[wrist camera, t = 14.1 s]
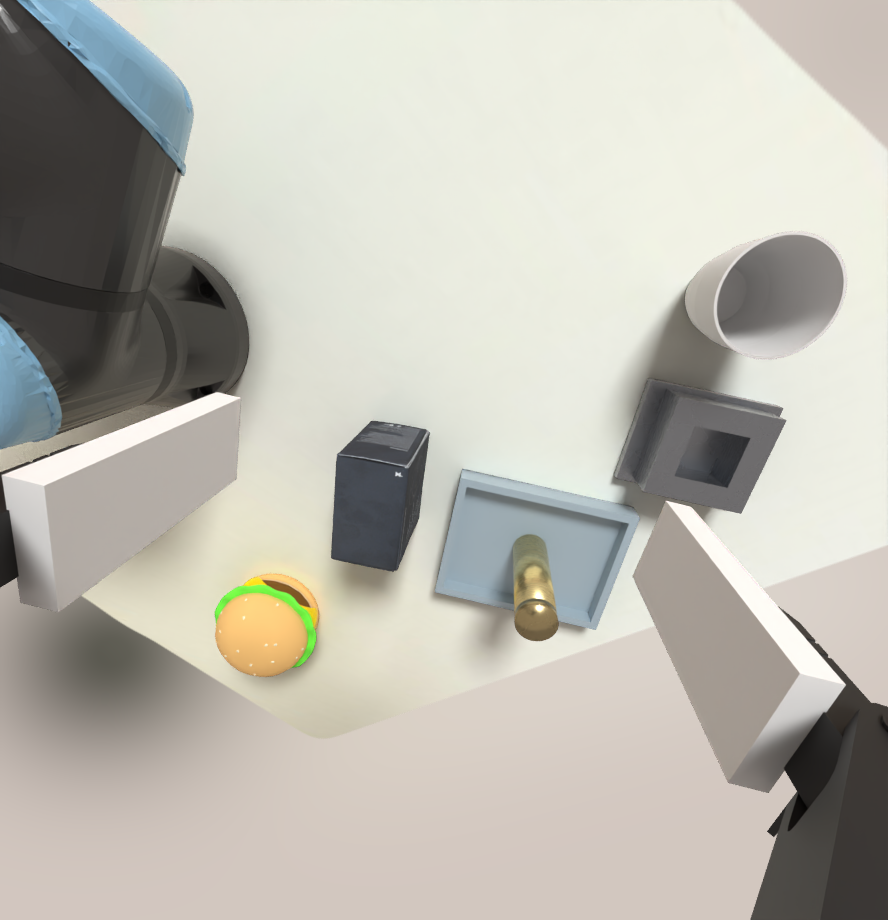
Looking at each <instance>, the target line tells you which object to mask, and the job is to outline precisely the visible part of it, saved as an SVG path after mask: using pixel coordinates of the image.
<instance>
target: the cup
mask: <svg viewBox="0 0 888 920" xmlns="http://www.w3.org/2000/svg"><path fill="white" fill-rule="evenodd" d="M846 288H847V273H846V268H845V264H844V262H843V259H842V257H841V255H840V254H839V252H838V251H837V249H836V248H835V247H834V246H833V245H832V244H831V243H830V242H828V241H827V240H825V239H824V238H822V237H820V236H818V235H815V234H812V233H808V232H802V231H788V232H782V233H777V234H774V235H771V236H767V237H764V238H761V239H757V240H754V241H751V242H747V243H744V244H741V245H738V246H736V247H734V248H732V249H730V250H728V251H727V252H725V253H723V254H721V255H719V256H718V257H716V258H714V259H712V260H711V261H709V262H708V263H707V264H705V265H704V266H703V267H702V268H701V269H700V270H699V271H698V272H697V274H696V275H695V276H694V278H693V279H692V280H691V282H690V284H689V285H688V288H687V290H686V294H685V306H686V310H687V313H688V316H689V318H690V320H691V322H692V323H693V325H694V326H695V327H696V328H697V329H698V330H700V331H701V332H702V333H703V334H704V335H706V336H707V337H708V338H709V339H710V340H712V341H713V342H715V343H717V344H719V345H721V346H723V347H726V348H728V349H730V350H732V351H735V352H737V353H739V354H741V355H744V356H747V357H750V358H754V359H777V358H782V357H785V356H789V355H791V354H794V353H796V352H798V351H800V350H802V349H804V348H806V347H807V346H809V345H810V344H812V343H813V342H815V341H816V340H817V339H818V338H819V337H820V336H821V335H823V334H824V333H825V331H826V330H827V329H828V328H829V327H830V326H831V324H832V323H833V321H834V320H835V318H836V317H837V315H838V313H839V311H840V309H841V307H842V304H843V301H844V298H845V294H846Z"/></svg>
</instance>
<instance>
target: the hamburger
mask: <svg viewBox="0 0 888 920" xmlns="http://www.w3.org/2000/svg"><path fill="white" fill-rule="evenodd" d="M215 618H216V633H215V637H216V641H215V642H216V643H217V647H218V649H219V651H220V653H221V654H222V655H223V657H224V658H225V659H226V661H227V662H228V663H229V664H230V665H231V666H233V668H235V669H237V670H239V671H241V672H243V673H245V674H249V675H253V676H259V677H269V676H275V675H278V674H280V673H282V672H284V671H286V670H288V669H290V668H293V667H298V666H301V665H302V664H303V663H304V662H305V661H306V660H307V659H308V657H309V656H310V655H311V654H312V652H313V649H314V646H315V643H316V632H315V629H316V627H317V625H318V620H319V611H318V606H317V603H316V601H315V598H314V597H313V595H312V593H311V592H310V591H309V590H308V589H307V588H306V587H305V586H304V585H303V584H302V583H300V582H299V581H297V580H295V579H293V578H291V577H288V576H285V575H281V574H265V575H260V576H258V577H253V578H252V579H250V580H248V581H247V582H246V583H245V584H244V585H243V586H240V587H237V588H235V589H233V590H232V591H230V592H229V593H228V594H226V595H225V596H224V597H223V598H222V599H221V601H220V602H219V604H218V606H217V608H216V610H215Z"/></svg>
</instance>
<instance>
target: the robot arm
mask: <svg viewBox="0 0 888 920" xmlns="http://www.w3.org/2000/svg"><path fill="white" fill-rule="evenodd" d="M193 116H194V113H193V105H192V101H191V99H190V96H189V94H188V92H187V90H186V88H185V86H184V85H183V83H182V82H181V81H180V79H179V78H178V77H177V76H176V74H175V73H174V72H173V71H172V70H171V69H170V68H169V67H168V66H167V65H166V64H165V63H164V62H162V61H161V60H160V59H159V58H158V57H157V56H156V55H155V54H154V53H152V52H151V51H150V50H149V49H148V48H147V47H145V46H144V45H143V44H142V43H141V42H140V41H138V40H137V39H136V38H135V37H134V36H133V35H131V34H130V33H129V32H128V31H127V30H125V29H124V28H123V27H122V26H121V25H119V24H118V23H117V22H116V21H114V20H113V19H112V18H111V17H110V16H108V15H107V14H106V13H105V12H103V11H102V10H101V9H100V8H98V7H97V6H96V5H95V4H93V3H92V2H91V1H90V0H0V449H3V448H7V447H11V446H15V445H18V444H22V443H26V442H37V441H40V440H46V439H49V438H51V437H53V436H55V435H57V434H60V433H63V432H66V431H69V430H71V429H74V428H77V427H80V426H83V425H85V424H88V423H91V422H94V421H97V420H99V419H102V418H105V417H108V416H111V415H113V414H116V413H119V412H122V411H125V410H127V409H130V408H133V407H136V406H138V405H142V404H146V405H156V406H167V407H177V408H174V409H172V410H169V411H166V412H164V413H161V414H159V415H156V416H154V417H151V418H148V419H146V420H143V421H141V422H138V423H135V424H133V425H130V426H128V427H125V428H122V429H120V430H117V431H115V432H112V433H110V434H107V435H104V436H102V437H99V438H97V439H94V440H91V441H89V442H86V443H82V444H76V445H71V446H68V447H66V448H63V449H61V450H58V451H55V452H53V453H50V456H48V455H45V456H42V457H39V458H37V459H34V460H33V462H26V463H24V464H21V465H18V466H16V467H13V468H11V469H8V470H5V471H3V472H0V587H2V586H3V585H5V584H7V583H8V582H10V581H12V580H13V579H15V578H17V581H18V588H19V595H20V602H21V603H24V604H28V605H31V606H36V607H40V608H44V609H47V610H51V611H56V612H60V611H61V610H62V609H64V608H65V607H66V606H68V605H69V604H70V603H71V602H73V601H74V600H75V599H77V598H78V597H80V596H81V595H82V594H84V593H85V592H86V591H88V590H89V589H90V588H92V587H93V586H94V585H96V584H97V583H98V582H100V581H101V580H102V579H104V578H105V577H106V576H108V575H109V574H110V573H112V572H113V571H114V570H116V569H117V568H118V567H120V566H121V565H122V564H124V563H125V562H126V561H128V560H129V559H130V558H132V557H133V556H134V555H136V554H137V553H138V552H140V551H141V550H142V549H144V548H145V547H146V546H148V545H149V544H150V543H152V542H153V541H154V540H156V539H157V538H158V537H160V536H161V535H162V534H164V533H165V532H166V531H168V530H169V529H170V528H172V527H173V526H174V525H176V524H177V523H178V522H180V521H181V520H182V519H184V518H185V517H186V516H188V515H189V514H190V513H192V512H193V511H194V510H196V509H197V508H198V507H200V506H201V505H202V504H204V503H205V502H206V501H208V500H209V499H210V498H212V497H213V496H214V495H216V494H217V493H218V492H220V491H221V490H222V489H224V488H225V487H226V486H228V485H229V484H230V483H232V482H233V481H234V480H236V478H237V461H238V443H239V425H240V407H241V398H239V397H235V396H231V395H227V394H224V393H225V392H227V391H228V390H229V389H230V388H231V387H232V386H233V385H234V384H235V383H236V381H237V380H238V379H239V377H240V375H241V373H242V372H243V369H244V367H245V364H246V360H247V356H248V349H249V334H248V326H247V322H246V318H245V314H244V311H243V309H242V306H241V304H240V302H239V300H238V298H237V296H236V294H235V292H234V291H233V289H232V288H231V286H230V285H229V284H228V282H227V281H226V280H225V279H224V277H223V276H222V275H221V274H220V273H219V272H218V271H217V270H216V269H215V268H214V267H212V266H211V265H210V264H209V263H207V262H206V261H204V260H203V259H201V258H200V257H198V256H196V255H194V254H192V253H190V252H187V251H185V250H182V249H178V248H174V247H167V246H161V244H162V240H163V237H164V233H165V230H166V226H167V223H168V219H169V216H170V212H171V209H172V205H173V202H174V198H175V195H176V191H177V188H178V184H179V181H180V177H181V175H182V176H184V175H185V172H186V166H185V164H184V159H185V155H186V150H187V145H188V141H189V136H190V132H191V128H192V123H193ZM633 578H634V580H635V583H636V585H637V587H638V589H639V591H640V593H641V596H642V598H643V600H644V602H645V604H646V606H647V609H648V611H649V613H650V615H651V617H652V619H653V622H654V624H655V626H656V628H657V630H658V632H659V635H660V637H661V639H662V641H663V643H664V645H665V647H666V650H667V652H668V654H669V656H670V658H671V660H672V663H673V665H674V667H675V669H676V671H677V673H678V675H679V677H680V680H681V682H682V684H683V686H684V688H685V691H686V693H687V695H688V697H689V699H690V701H691V704H692V706H693V708H694V710H695V712H696V714H697V717H698V719H699V721H700V723H701V725H702V728H703V730H704V732H705V734H706V736H707V738H708V740H709V742H710V745H711V747H712V749H713V751H714V754H715V756H716V758H717V760H718V762H719V764H720V766H721V769H722V771H723V773H724V775H725V777H726V779H727V781H728V783H731V784H735V785H739V786H743V787H747V788H751V789H755V790H759V791H763V792H766V793H769V791H770V790H771V789H772V787H773V786H774V784H775V783H776V782H777V780H778V779H779V778H780V776H781V775H782V773H783V772H784V771H786V773H787V775H788V776H789V778H790V780H791V781H792V783H793V785H794V786H795V788H796V790H797V792H796V794H795V795H794V796H793V798H792V799H791V800H790V802H789V803H788V804H787V806H786V807H785V808H784V810H783V811H782V813H781V814H780V815H779V816H778V818H777V819H776V820H775V822H774V823H773V824H772V826H771V827H770V828H769V830H768V831H767V832H768V833H770V834H771V835H772V836H773V837H774V836H775V835H776V834H777V833H778V835H777V838H776V841H775V844H774V847H773V850H772V853H771V857H770V860H769V863H768V866H767V869H766V872H765V876H764V879H763V882H762V885H761V888H760V891H759V894H758V897H757V901H756V904H755V907H754V910H753V913H752V917H751V920H888V707H887V706H883V705H880V704H877V703H871V702H870V701H869V700H868V699H867V698H866V697H865V696H864V694H863V693H862V692H861V691H860V690H859V689H858V688H857V687H856V686H855V684H854V683H853V682H852V681H851V680H850V679H849V678H848V677H847V675H846V674H845V673H844V672H843V671H842V670H841V669H840V668H839V666H838V665H837V664H836V663H835V662H834V661H833V660H832V659H831V658H828V654H827V653H826V652H825V651H824V650H823V649H822V647H821V646H820V645H819V644H816V643H815V639H814V638H813V637H812V636H811V635H810V634H809V633H808V632H807V631H806V629H805V628H804V627H803V626H802V625H801V624H800V623H799V622H798V621H796V620H795V619H794V618H793V617H791V616H790V615H789V614H787V613H786V612H785V611H784V610H782V609H781V608H780V607H778V606H777V605H776V604H775V603H774V602H773V600H772V599H771V598H770V597H769V596H768V595H767V593H766V592H765V591H764V590H763V589H762V588H761V587H760V585H759V584H758V583H757V582H756V581H755V580H754V579H753V577H752V576H751V575H750V574H749V573H748V572H747V570H746V569H745V568H744V567H743V566H742V565H741V564H740V562H739V561H738V560H737V559H736V558H735V557H734V556H733V554H732V553H731V552H730V551H729V550H728V549H727V547H726V546H725V545H724V544H723V543H722V542H721V541H720V539H719V538H718V537H717V536H716V535H715V534H714V532H713V531H712V530H711V529H710V528H709V527H708V526H707V524H706V523H705V522H704V521H703V520H702V519H701V518H700V516H699V515H698V514H697V513H696V512H695V511H694V509H693V508H692V507H690V506H686V505H682V504H678V503H673V502H669V501H665V504H664V506H663V508H662V511H661V513H660V515H659V517H658V520H657V522H656V524H655V527H654V529H653V531H652V533H651V536H650V538H649V540H648V542H647V545H646V547H645V549H644V552H643V554H642V556H641V558H640V561H639V563H638V565H637V567H636V570H635V572H634V574H633Z"/></svg>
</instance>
